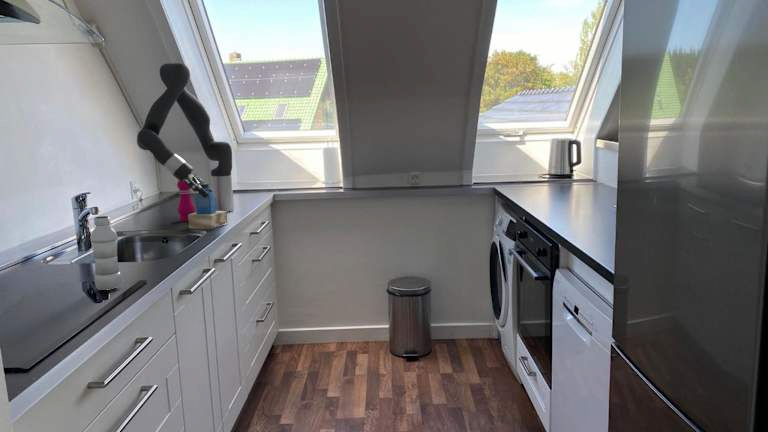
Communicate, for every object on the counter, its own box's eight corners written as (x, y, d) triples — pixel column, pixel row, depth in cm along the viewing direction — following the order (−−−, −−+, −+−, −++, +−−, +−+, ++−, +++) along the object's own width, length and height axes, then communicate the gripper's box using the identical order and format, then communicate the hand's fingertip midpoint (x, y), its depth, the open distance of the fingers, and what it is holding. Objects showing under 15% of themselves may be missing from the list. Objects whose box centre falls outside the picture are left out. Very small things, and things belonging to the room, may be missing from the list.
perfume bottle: (216, 211, 236) (214, 183, 234) (211, 214, 230) (209, 185, 227) (202, 211, 236) (200, 183, 234) (196, 214, 230) (194, 185, 228)
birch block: (205, 223, 241) (204, 210, 240) (227, 225, 238) (226, 211, 236) (189, 228, 231) (188, 214, 230) (211, 230, 227) (210, 215, 226)
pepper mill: (190, 222, 243) (186, 176, 239) (175, 221, 245) (171, 176, 241) (198, 218, 250) (195, 174, 246) (184, 218, 252) (180, 174, 248)
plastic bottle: (101, 286, 154) (93, 215, 150) (126, 285, 154) (119, 214, 151) (91, 294, 148) (82, 220, 144) (117, 293, 148) (110, 219, 144)
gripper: (180, 162, 221) (212, 190, 224) (188, 159, 235) (218, 186, 238) (167, 176, 222) (199, 204, 225) (176, 172, 236) (206, 198, 239)
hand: (209, 194), depth 232 cm, fingers open, 8 cm apart
